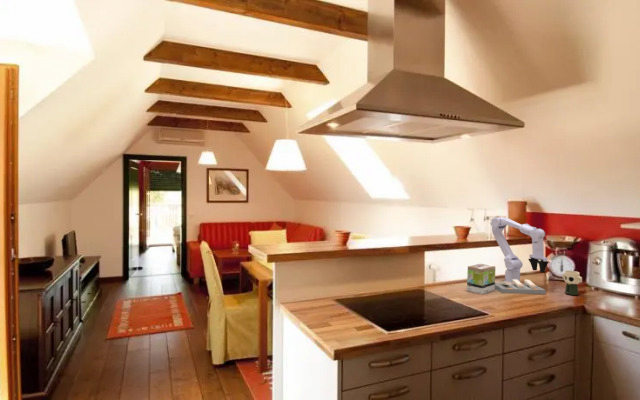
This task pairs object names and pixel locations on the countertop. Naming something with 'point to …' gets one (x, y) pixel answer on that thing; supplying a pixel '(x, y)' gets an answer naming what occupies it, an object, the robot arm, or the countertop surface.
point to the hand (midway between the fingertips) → (538, 271)
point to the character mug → (572, 281)
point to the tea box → (481, 278)
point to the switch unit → (518, 289)
